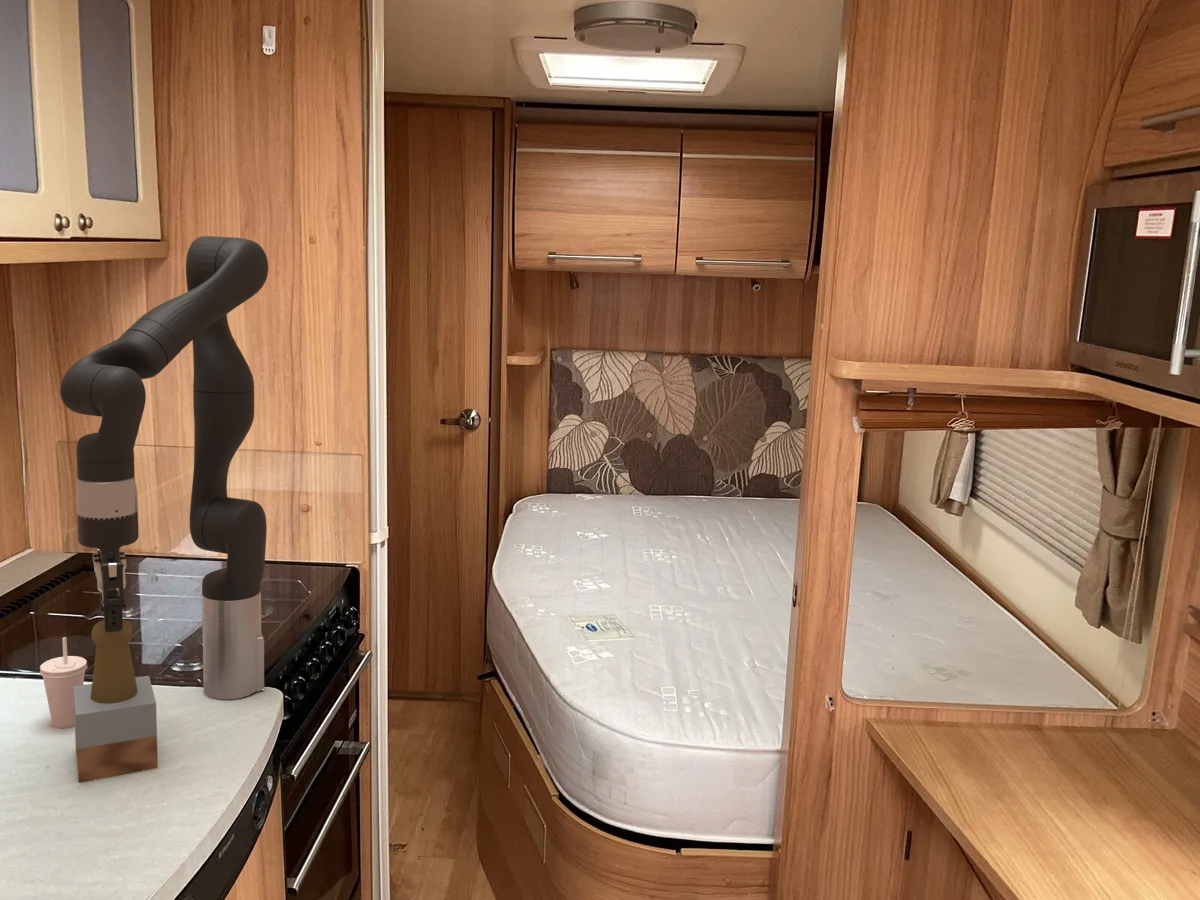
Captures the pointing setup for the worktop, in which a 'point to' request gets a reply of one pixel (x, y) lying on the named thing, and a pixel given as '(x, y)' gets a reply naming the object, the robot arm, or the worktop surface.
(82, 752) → the walnut base block
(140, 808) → the worktop surface
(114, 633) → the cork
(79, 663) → the smoothie
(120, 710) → the slate top block
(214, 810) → the worktop surface
